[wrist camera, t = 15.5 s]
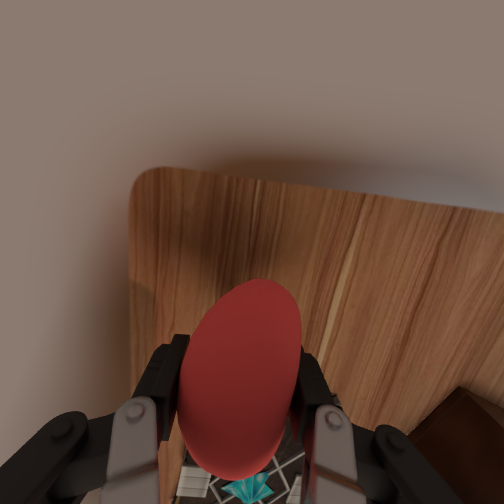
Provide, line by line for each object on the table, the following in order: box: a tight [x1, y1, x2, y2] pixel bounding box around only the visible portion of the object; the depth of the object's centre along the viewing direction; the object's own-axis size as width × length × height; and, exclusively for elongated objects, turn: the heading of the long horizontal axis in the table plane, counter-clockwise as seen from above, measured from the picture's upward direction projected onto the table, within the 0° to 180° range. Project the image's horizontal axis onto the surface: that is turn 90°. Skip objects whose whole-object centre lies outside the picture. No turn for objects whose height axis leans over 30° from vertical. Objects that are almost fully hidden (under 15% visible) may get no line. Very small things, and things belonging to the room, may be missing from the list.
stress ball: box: [177, 279, 301, 481], centre depth 11 cm, size 5×9×6 cm, turn 161°
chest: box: [408, 387, 504, 504], centre depth 27 cm, size 16×13×9 cm
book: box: [171, 396, 344, 504], centre depth 27 cm, size 22×17×5 cm
